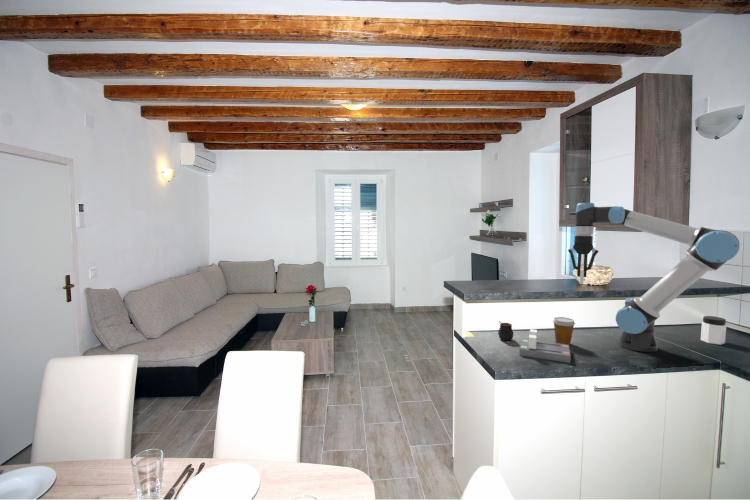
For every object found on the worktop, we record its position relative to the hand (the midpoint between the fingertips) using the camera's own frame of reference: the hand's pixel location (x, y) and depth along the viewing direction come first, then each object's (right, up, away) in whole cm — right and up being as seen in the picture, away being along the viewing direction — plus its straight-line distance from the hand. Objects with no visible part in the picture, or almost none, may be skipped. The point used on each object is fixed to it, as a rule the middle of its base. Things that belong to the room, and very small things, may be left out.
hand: (581, 283), depth 177 cm
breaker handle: (-26, -27, -6) cm, 38 cm away
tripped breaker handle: (-30, -27, -14) cm, 43 cm away
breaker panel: (-23, -31, -12) cm, 40 cm away
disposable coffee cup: (-8, -30, +1) cm, 31 cm away
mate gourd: (-34, -29, +7) cm, 46 cm away
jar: (+67, -29, +3) cm, 73 cm away
